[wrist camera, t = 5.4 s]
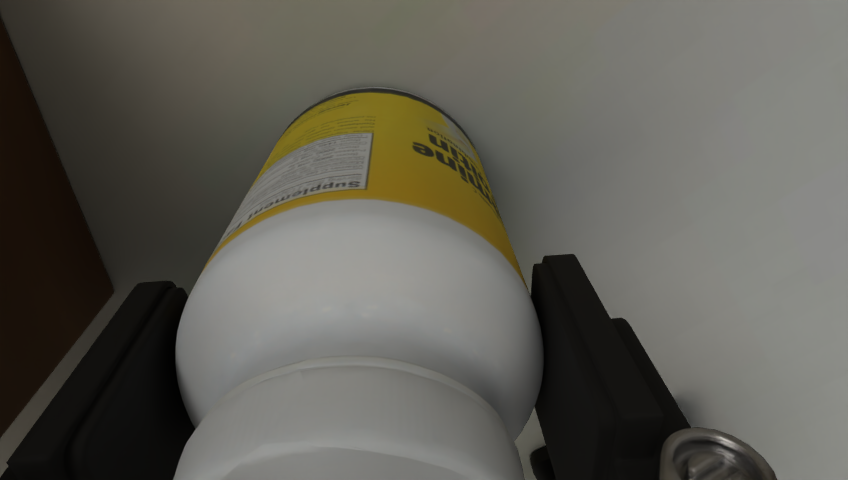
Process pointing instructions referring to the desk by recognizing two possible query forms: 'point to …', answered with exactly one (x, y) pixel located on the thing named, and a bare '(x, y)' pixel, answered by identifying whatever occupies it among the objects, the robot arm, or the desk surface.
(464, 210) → the pill bottle
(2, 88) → the stand
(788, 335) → the desk surface
